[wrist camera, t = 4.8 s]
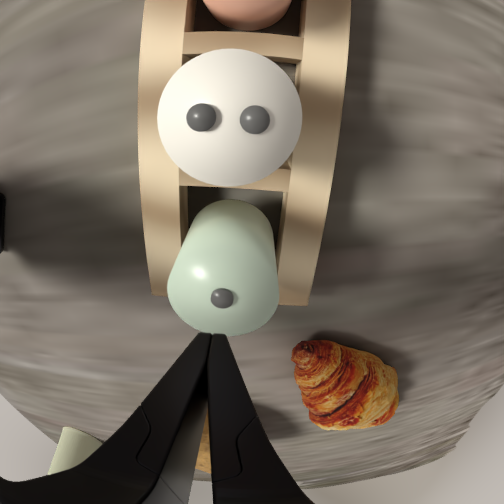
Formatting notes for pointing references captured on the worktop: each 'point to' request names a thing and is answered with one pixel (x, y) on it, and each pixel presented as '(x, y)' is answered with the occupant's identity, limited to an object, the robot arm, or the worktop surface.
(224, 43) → the board
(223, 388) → the robot arm
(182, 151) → the key two
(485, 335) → the worktop surface
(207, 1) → the key three
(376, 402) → the croissant
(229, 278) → the key one
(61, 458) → the can
